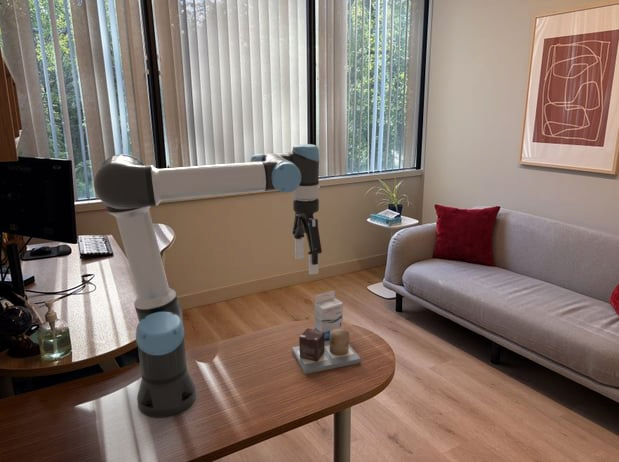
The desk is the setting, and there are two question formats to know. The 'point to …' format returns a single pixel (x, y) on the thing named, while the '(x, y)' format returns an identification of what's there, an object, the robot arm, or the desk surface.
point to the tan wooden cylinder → (339, 342)
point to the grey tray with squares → (326, 359)
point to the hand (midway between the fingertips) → (306, 265)
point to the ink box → (328, 313)
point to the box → (311, 344)
